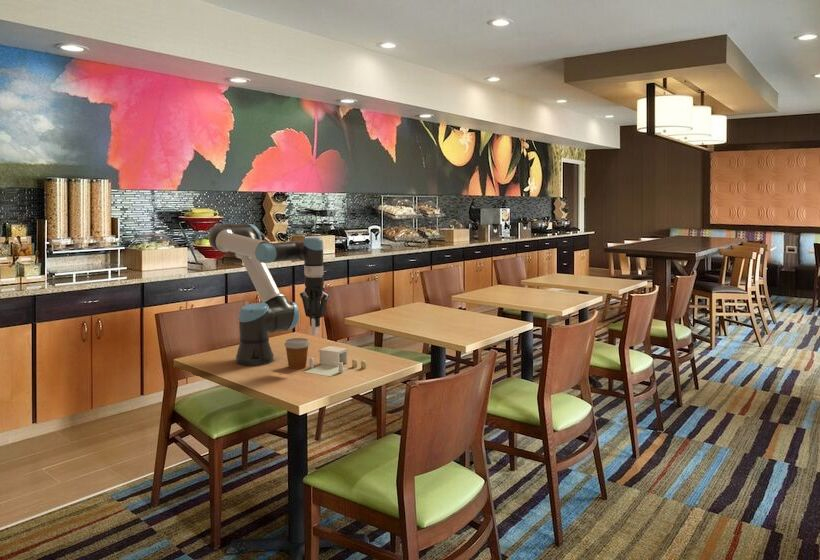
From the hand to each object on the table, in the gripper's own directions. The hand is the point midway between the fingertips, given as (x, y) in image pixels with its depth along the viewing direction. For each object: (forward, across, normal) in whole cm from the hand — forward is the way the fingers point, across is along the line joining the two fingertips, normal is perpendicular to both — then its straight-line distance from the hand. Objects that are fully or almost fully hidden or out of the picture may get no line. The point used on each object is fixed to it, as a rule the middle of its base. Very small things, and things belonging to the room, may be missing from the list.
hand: (315, 334), depth 254 cm
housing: (+11, +9, 0) cm, 14 cm away
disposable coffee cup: (+13, -1, -11) cm, 17 cm away
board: (+13, +15, -6) cm, 20 cm away
